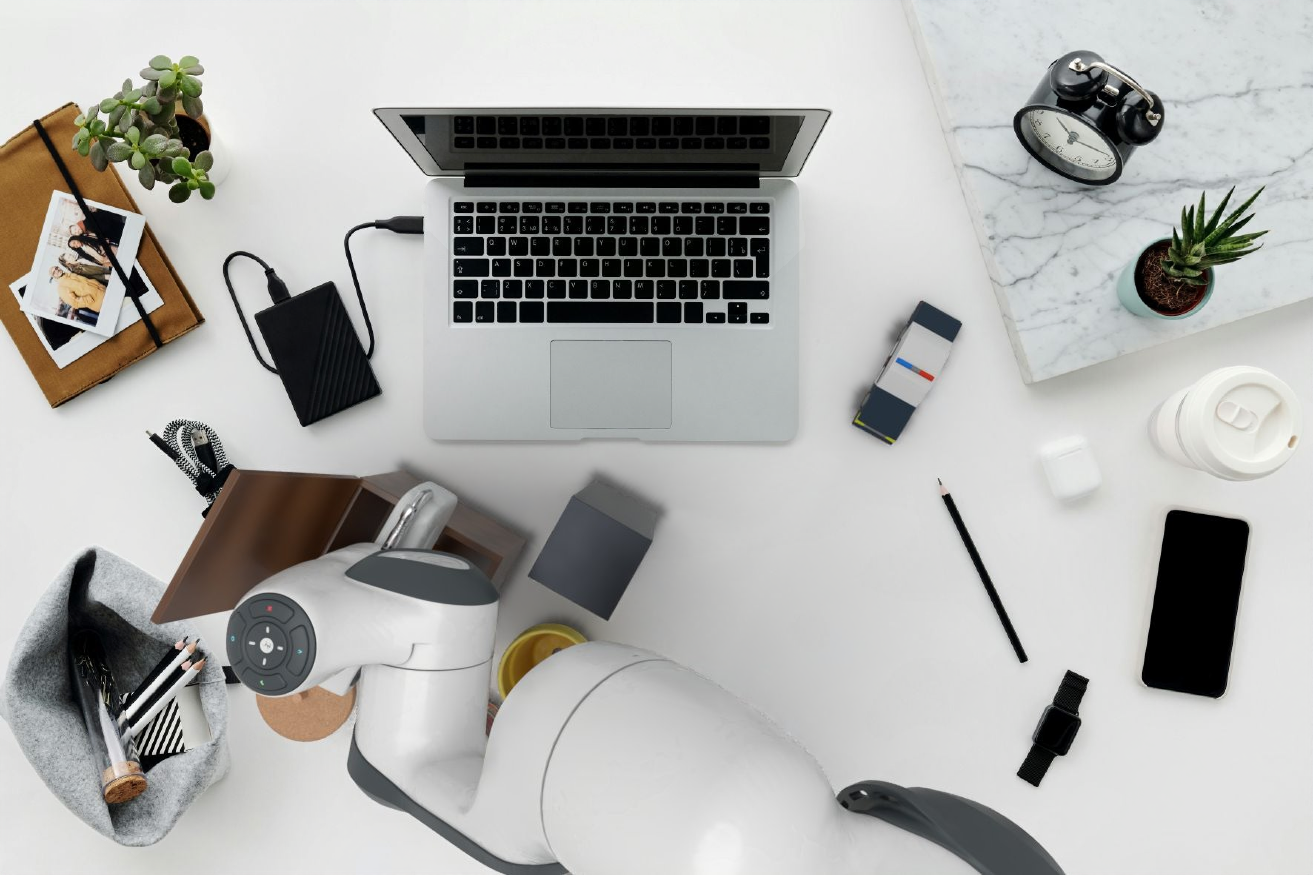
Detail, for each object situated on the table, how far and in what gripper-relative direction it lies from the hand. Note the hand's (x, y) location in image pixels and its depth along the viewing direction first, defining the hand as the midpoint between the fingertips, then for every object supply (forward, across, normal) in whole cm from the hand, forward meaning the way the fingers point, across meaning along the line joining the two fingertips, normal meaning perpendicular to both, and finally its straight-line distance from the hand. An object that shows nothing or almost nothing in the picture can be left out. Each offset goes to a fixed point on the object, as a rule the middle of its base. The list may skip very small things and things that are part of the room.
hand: (412, 567), depth 82 cm
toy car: (+10, -45, +36) cm, 59 cm away
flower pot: (+10, +3, +18) cm, 21 cm away
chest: (+10, 0, 0) cm, 10 cm away
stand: (+10, -13, +16) cm, 23 cm away
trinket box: (+10, +18, -4) cm, 21 cm away
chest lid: (-12, +1, -10) cm, 16 cm away
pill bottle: (+10, +15, +14) cm, 23 cm away
